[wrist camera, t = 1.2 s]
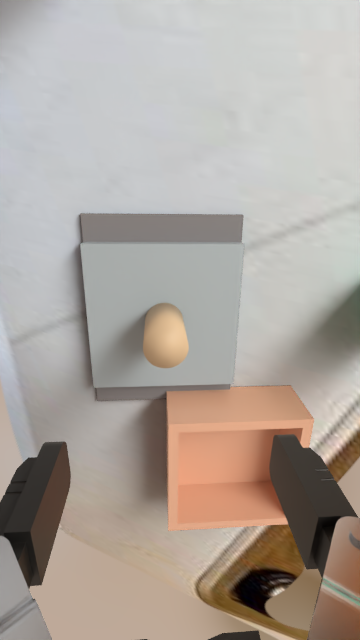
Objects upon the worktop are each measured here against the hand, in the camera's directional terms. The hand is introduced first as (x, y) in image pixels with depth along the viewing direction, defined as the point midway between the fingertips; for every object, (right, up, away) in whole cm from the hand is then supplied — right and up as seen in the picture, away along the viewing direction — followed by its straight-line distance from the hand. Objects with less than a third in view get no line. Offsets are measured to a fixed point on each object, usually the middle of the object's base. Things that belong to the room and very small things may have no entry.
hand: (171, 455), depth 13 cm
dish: (+5, -6, +20) cm, 21 cm away
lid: (-1, +6, +15) cm, 16 cm away
